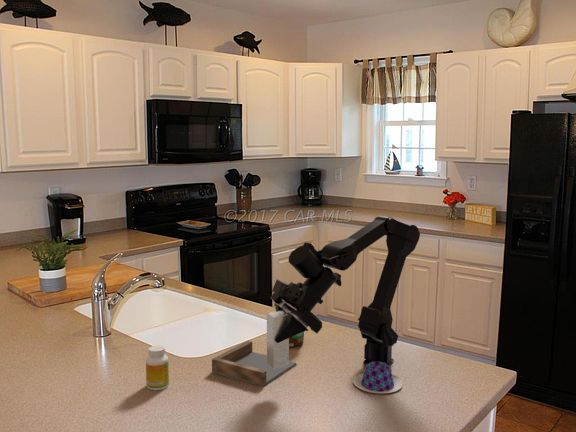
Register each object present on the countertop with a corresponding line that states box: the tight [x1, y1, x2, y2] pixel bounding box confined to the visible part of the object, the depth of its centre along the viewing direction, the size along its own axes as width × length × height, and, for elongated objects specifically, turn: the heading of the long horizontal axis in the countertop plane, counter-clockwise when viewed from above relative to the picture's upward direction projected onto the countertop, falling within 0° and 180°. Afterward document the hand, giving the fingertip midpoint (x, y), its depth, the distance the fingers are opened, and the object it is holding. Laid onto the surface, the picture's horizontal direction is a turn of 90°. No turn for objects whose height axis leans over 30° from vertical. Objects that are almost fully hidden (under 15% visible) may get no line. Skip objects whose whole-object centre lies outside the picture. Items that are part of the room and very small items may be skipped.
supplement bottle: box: [145, 345, 170, 391], centre depth 139 cm, size 5×5×10 cm
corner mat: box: [211, 351, 297, 388], centre depth 150 cm, size 16×16×1 cm
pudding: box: [353, 362, 403, 394], centre depth 141 cm, size 12×12×5 cm
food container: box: [289, 314, 305, 350], centre depth 167 cm, size 12×6×10 cm, turn 168°
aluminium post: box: [266, 310, 290, 369], centre depth 135 cm, size 4×4×12 cm
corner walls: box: [211, 340, 266, 384], centre depth 150 cm, size 16×16×3 cm
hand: (272, 338), depth 135 cm, fingers closed on aluminium post, 4 cm apart
